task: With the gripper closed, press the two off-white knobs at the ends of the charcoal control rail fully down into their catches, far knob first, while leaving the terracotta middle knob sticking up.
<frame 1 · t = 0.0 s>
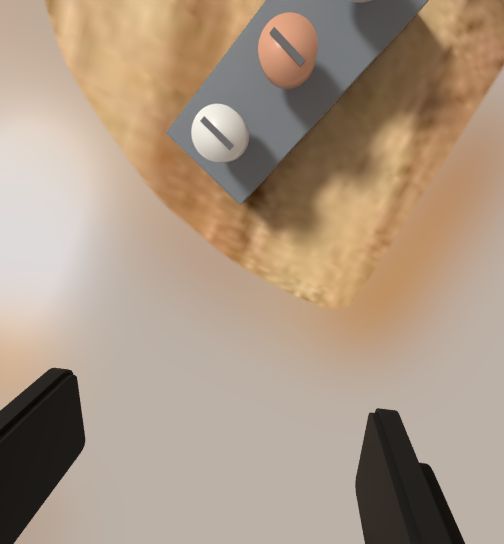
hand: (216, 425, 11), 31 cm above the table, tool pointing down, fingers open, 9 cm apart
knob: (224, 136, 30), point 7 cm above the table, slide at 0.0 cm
control rail: (289, 79, 35), on the table
knob middle: (288, 59, 28), point 7 cm above the table, slide at 0.0 cm
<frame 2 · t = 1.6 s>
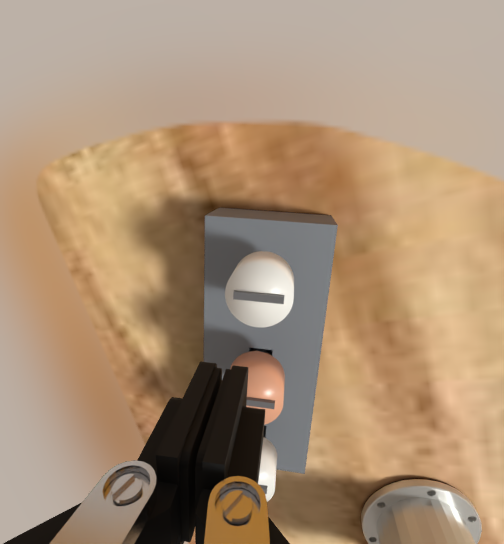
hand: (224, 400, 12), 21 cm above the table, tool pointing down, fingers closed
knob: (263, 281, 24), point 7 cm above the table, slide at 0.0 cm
control rail: (265, 331, 34), on the table
knob middle: (257, 375, 27), point 7 cm above the table, slide at 0.0 cm
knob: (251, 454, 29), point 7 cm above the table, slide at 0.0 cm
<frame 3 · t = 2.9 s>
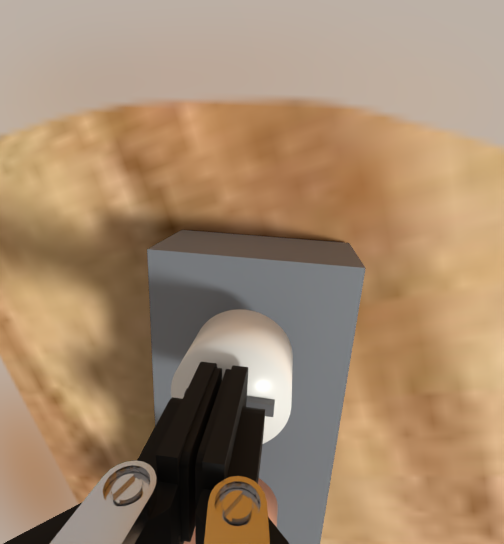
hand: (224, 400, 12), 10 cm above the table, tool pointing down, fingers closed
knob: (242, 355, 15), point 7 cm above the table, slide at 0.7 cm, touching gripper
control rail: (252, 403, 24), on the table
knob middle: (233, 503, 17), point 7 cm above the table, slide at 0.0 cm
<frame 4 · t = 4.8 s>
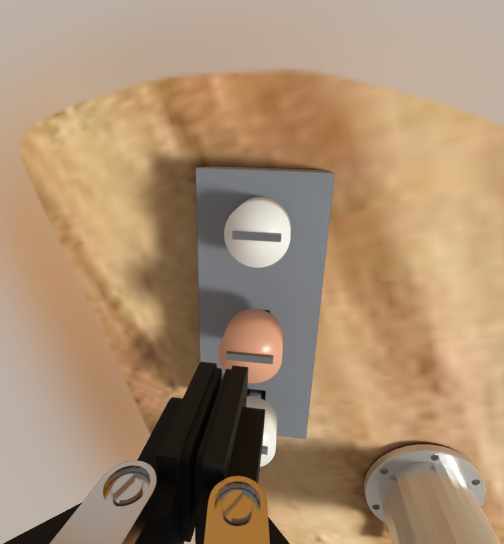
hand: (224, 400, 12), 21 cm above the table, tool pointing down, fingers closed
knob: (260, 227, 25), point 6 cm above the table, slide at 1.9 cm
control rail: (262, 296, 33), on the table
knob middle: (254, 334, 26), point 7 cm above the table, slide at 0.0 cm
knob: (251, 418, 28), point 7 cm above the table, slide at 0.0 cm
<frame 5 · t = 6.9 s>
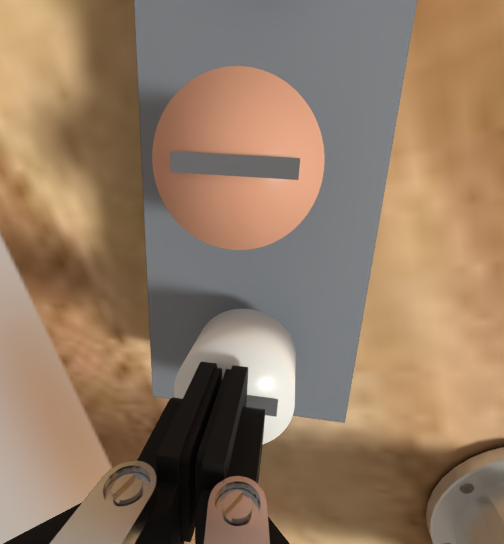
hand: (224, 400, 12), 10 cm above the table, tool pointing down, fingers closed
control rail: (269, 164, 18), on the table
knob middle: (251, 165, 11), point 7 cm above the table, slide at 0.0 cm
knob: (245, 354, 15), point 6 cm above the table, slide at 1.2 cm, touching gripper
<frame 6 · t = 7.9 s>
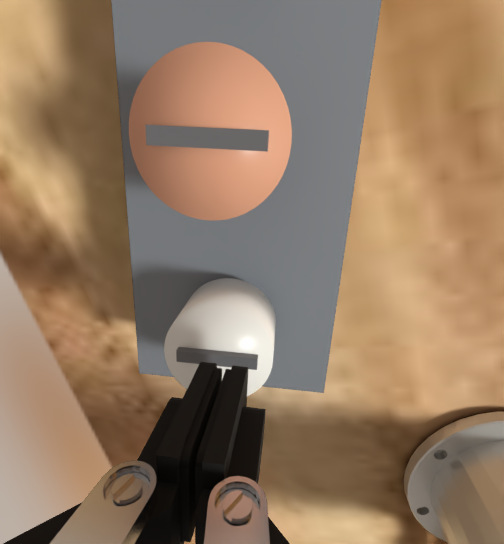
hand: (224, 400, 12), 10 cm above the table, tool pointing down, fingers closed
control rail: (249, 146, 19), on the table
knob middle: (227, 142, 12), point 7 cm above the table, slide at 0.0 cm
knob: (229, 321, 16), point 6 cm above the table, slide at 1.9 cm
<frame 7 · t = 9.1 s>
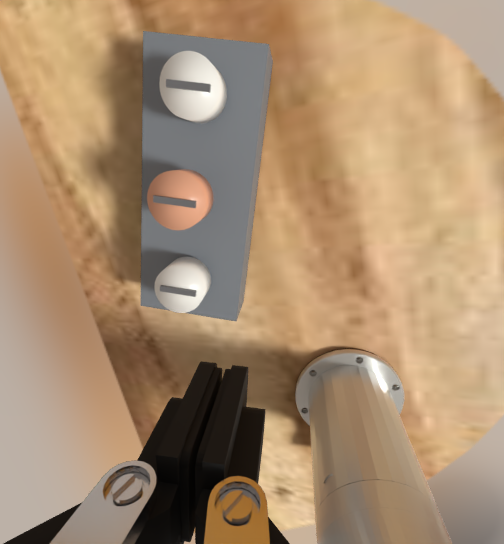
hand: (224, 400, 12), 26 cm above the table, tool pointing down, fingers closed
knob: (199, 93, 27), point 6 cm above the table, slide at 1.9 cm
control rail: (208, 188, 35), on the table
knob middle: (187, 196, 28), point 7 cm above the table, slide at 0.0 cm
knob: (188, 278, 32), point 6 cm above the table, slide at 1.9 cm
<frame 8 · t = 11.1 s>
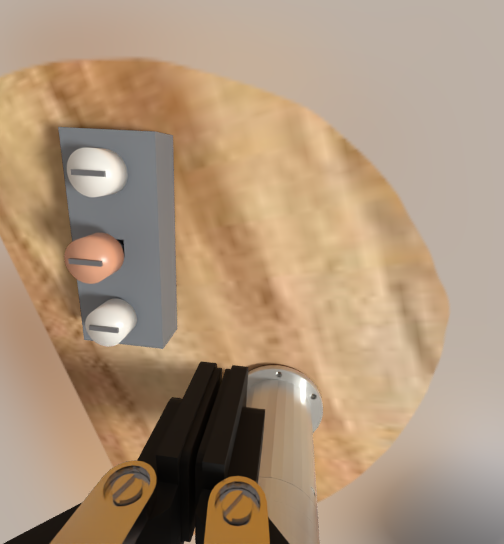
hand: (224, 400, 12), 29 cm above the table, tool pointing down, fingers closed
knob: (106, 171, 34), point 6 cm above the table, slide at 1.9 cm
control rail: (135, 238, 41), on the table
knob middle: (103, 253, 34), point 7 cm above the table, slide at 0.0 cm
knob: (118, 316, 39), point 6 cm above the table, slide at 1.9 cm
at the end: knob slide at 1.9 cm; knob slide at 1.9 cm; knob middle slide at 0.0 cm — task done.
